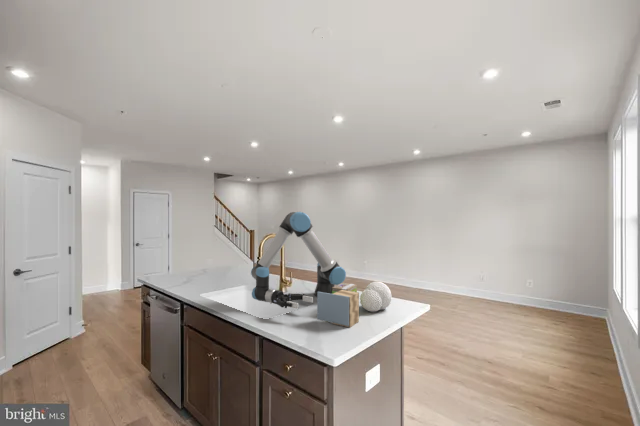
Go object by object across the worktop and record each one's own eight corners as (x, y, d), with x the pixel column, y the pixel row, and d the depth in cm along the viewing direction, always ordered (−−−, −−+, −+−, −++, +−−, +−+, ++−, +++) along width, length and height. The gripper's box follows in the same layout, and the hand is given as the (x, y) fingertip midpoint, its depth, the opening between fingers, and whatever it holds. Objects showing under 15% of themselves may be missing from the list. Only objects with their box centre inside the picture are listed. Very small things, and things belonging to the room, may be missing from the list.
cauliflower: (372, 288, 192) (376, 271, 181) (395, 305, 183) (401, 288, 172) (352, 307, 180) (355, 290, 169) (376, 326, 171) (381, 310, 161)
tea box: (347, 316, 163) (347, 289, 163) (330, 313, 168) (331, 287, 168) (357, 309, 177) (357, 283, 177) (341, 306, 181) (341, 281, 181)
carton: (341, 317, 161) (341, 289, 161) (358, 321, 156) (358, 292, 156) (332, 323, 152) (332, 293, 153) (350, 327, 147) (350, 296, 147)
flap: (318, 318, 157) (318, 291, 157) (349, 325, 147) (349, 296, 147) (317, 319, 156) (317, 291, 156) (348, 326, 146) (348, 297, 147)
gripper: (288, 298, 182) (318, 304, 171) (259, 309, 161) (291, 316, 150) (288, 285, 182) (318, 290, 171) (259, 294, 161) (291, 301, 150)
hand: (305, 302), depth 160 cm, fingers open, 13 cm apart
